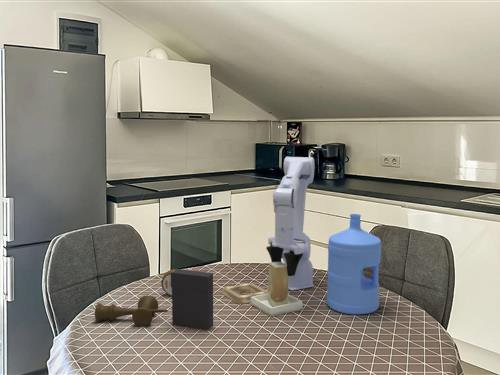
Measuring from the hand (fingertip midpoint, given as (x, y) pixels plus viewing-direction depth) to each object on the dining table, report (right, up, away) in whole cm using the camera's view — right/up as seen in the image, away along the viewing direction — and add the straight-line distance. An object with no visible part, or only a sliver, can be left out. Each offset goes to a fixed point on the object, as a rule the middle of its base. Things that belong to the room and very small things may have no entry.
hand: (283, 272), depth 151 cm
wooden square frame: (-12, -9, +9) cm, 17 cm away
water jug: (+21, -11, +1) cm, 23 cm away
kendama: (-43, -12, -11) cm, 46 cm away
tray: (-2, -10, 0) cm, 11 cm away
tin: (-31, -9, +9) cm, 34 cm away
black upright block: (-26, -12, -15) cm, 32 cm away
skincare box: (-2, -10, 0) cm, 10 cm away
